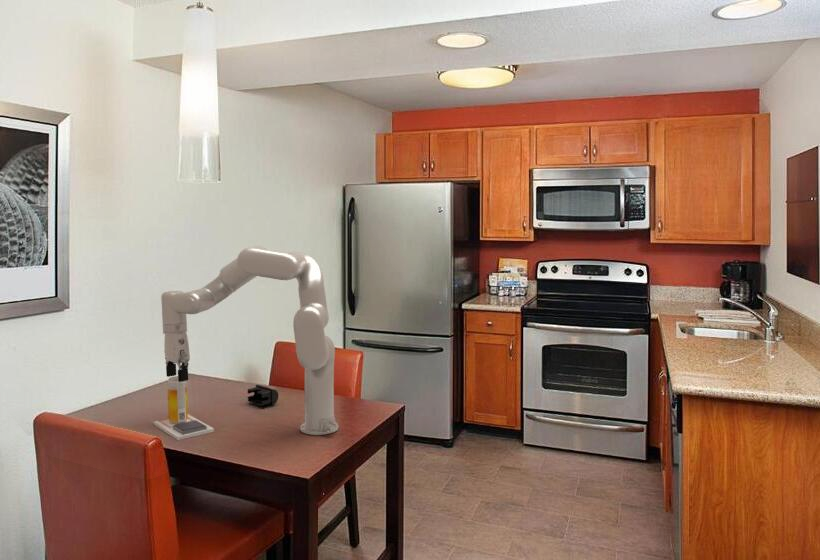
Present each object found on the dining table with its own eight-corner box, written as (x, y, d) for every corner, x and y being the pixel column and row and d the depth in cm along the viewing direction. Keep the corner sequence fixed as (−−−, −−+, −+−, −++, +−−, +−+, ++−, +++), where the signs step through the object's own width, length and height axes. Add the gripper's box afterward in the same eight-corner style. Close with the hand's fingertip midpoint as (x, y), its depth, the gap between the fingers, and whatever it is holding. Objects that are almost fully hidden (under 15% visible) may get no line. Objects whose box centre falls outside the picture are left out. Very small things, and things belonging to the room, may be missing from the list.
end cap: (278, 405, 230) (278, 387, 229) (263, 409, 224) (263, 391, 224) (262, 400, 236) (262, 383, 236) (247, 404, 231) (246, 386, 230)
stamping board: (214, 431, 200) (213, 424, 200) (177, 440, 192) (177, 433, 192) (188, 417, 215) (188, 410, 215) (153, 424, 207) (153, 417, 207)
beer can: (181, 417, 211) (179, 374, 210) (191, 420, 208) (190, 377, 206) (165, 422, 206) (163, 378, 205) (175, 425, 203) (174, 381, 201)
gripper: (196, 329, 200) (199, 381, 202) (175, 323, 213) (177, 372, 215) (174, 332, 195) (176, 385, 197) (153, 326, 208) (156, 376, 209)
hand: (177, 378), depth 206 cm, fingers open, 9 cm apart
